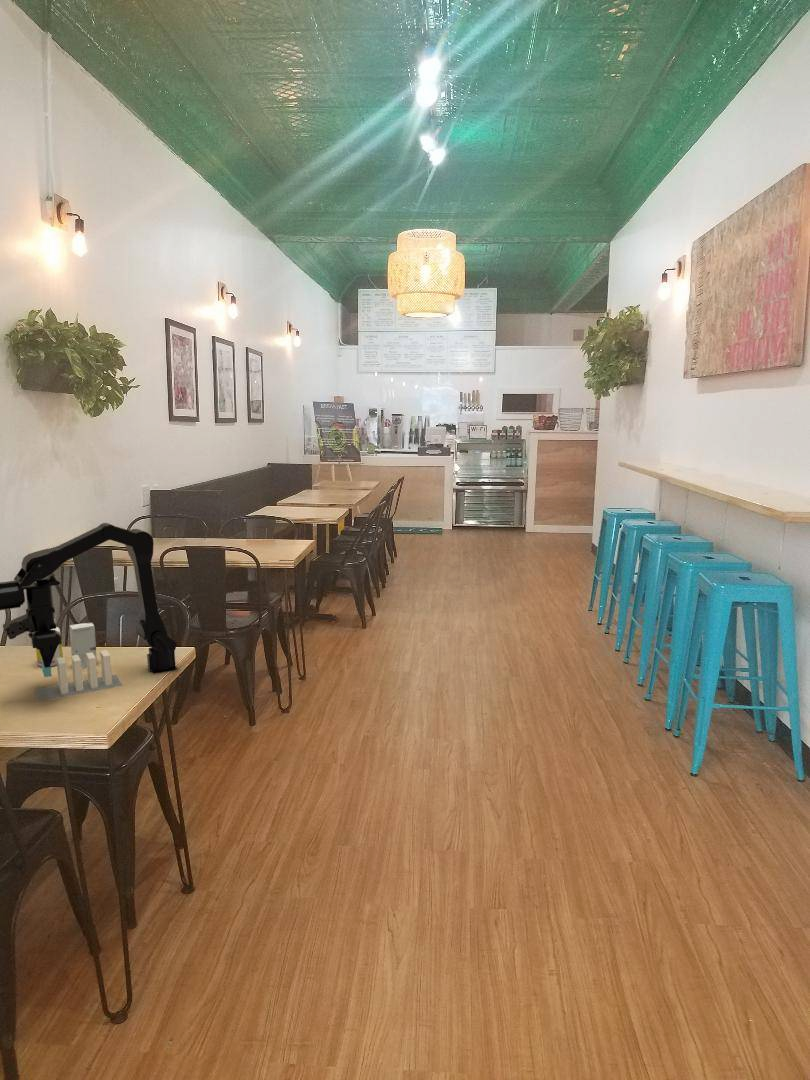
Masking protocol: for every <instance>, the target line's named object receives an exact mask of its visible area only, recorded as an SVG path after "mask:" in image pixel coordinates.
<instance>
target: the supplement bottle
mask: <svg viewBox="0 0 810 1080" xmlns="http://www.w3.org/2000/svg"><path fill="white" fill-rule="evenodd" d="M55 623H56V624H57V622H56V620H55ZM51 630H56V631H57V632H59V634H60V636H61V637H62V634H61V629H60V628H59V627H58V626H56V629H51ZM62 644H63V643H62V641H61V644H59V645H58V647H57V649H56V652H55V654H54V657H53V660H52V662H51V667H54V666H57V659H56V658H61V657H63V658H64V653H63V647H62V646H63V645H62ZM35 652H36V653H35V654H36V660H37V661H36V662H37V665H38V666H39V667H42V661H41V654H40V651H39V650H38V649H37V648H35Z"/></svg>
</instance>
